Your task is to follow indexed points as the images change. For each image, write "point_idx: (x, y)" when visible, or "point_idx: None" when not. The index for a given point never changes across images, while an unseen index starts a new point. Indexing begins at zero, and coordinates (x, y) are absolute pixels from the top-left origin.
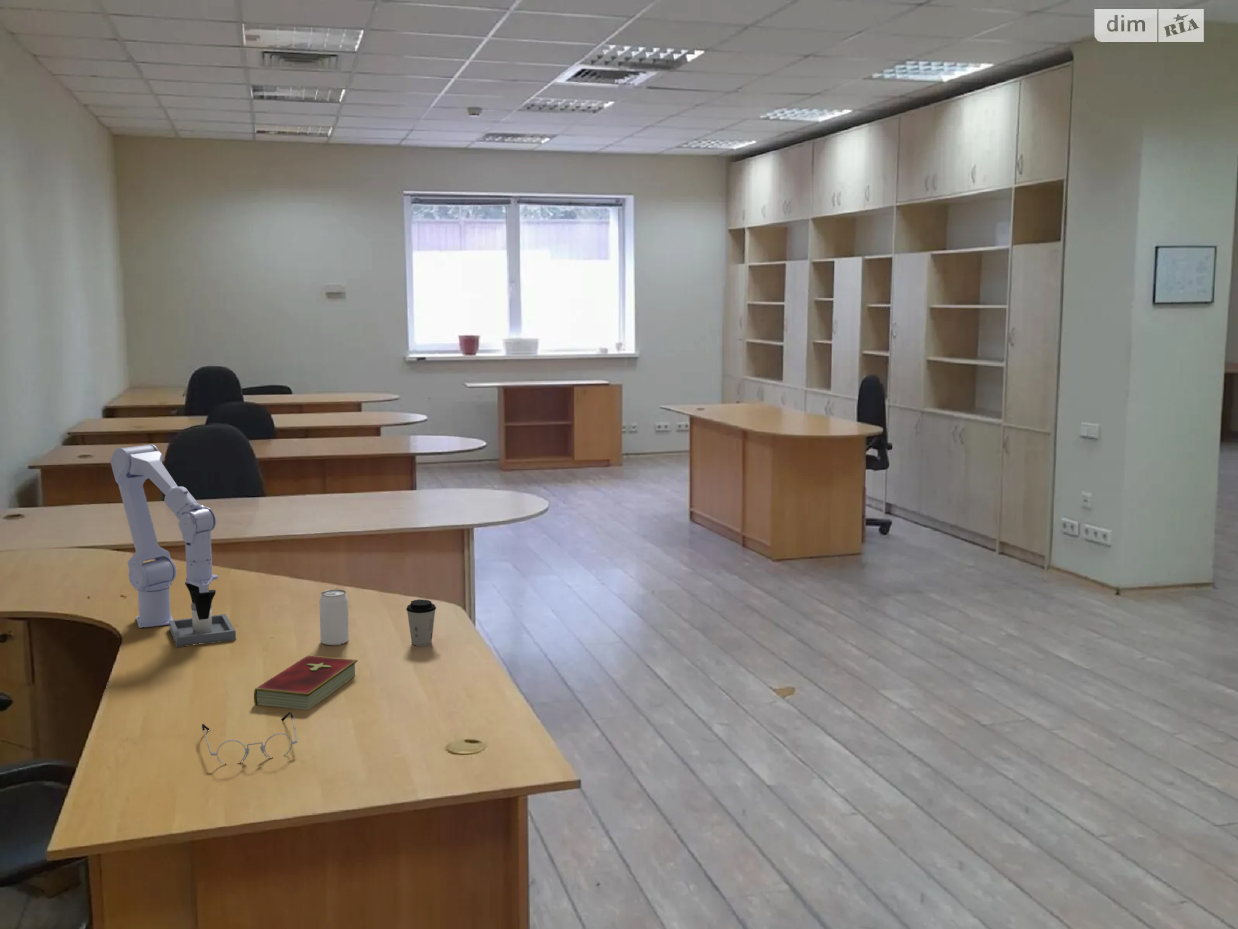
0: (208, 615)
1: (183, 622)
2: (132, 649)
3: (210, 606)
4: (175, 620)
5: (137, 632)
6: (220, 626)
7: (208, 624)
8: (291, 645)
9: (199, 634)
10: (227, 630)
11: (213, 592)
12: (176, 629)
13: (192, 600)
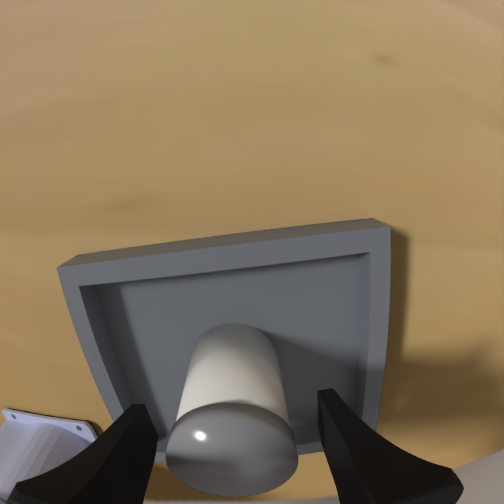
0: (340, 398)
1: None
2: (319, 493)
3: (369, 428)
4: None
5: (159, 489)
6: (166, 286)
7: (271, 361)
8: (484, 35)
9: (373, 381)
10: (371, 266)
11: (462, 487)
12: None
13: (144, 485)
